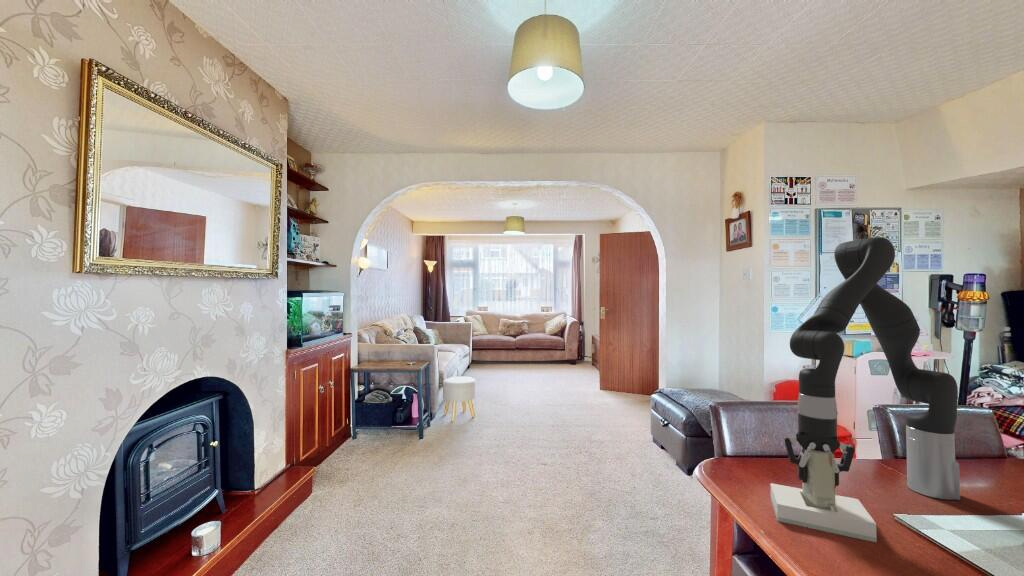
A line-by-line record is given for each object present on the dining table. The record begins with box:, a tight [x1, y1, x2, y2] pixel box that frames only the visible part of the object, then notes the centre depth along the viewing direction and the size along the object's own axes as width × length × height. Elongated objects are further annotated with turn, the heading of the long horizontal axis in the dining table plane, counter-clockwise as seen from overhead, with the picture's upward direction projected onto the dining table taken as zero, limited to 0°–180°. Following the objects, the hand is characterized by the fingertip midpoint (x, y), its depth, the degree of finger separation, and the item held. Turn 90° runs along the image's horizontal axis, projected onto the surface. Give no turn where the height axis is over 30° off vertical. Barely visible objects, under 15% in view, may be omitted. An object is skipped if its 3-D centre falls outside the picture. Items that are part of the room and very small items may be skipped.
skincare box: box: [800, 445, 836, 507], centre depth 95 cm, size 6×4×12 cm
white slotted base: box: [769, 482, 878, 543], centre depth 95 cm, size 18×12×4 cm, turn 63°
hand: (817, 483), depth 95 cm, fingers closed on skincare box, 5 cm apart
